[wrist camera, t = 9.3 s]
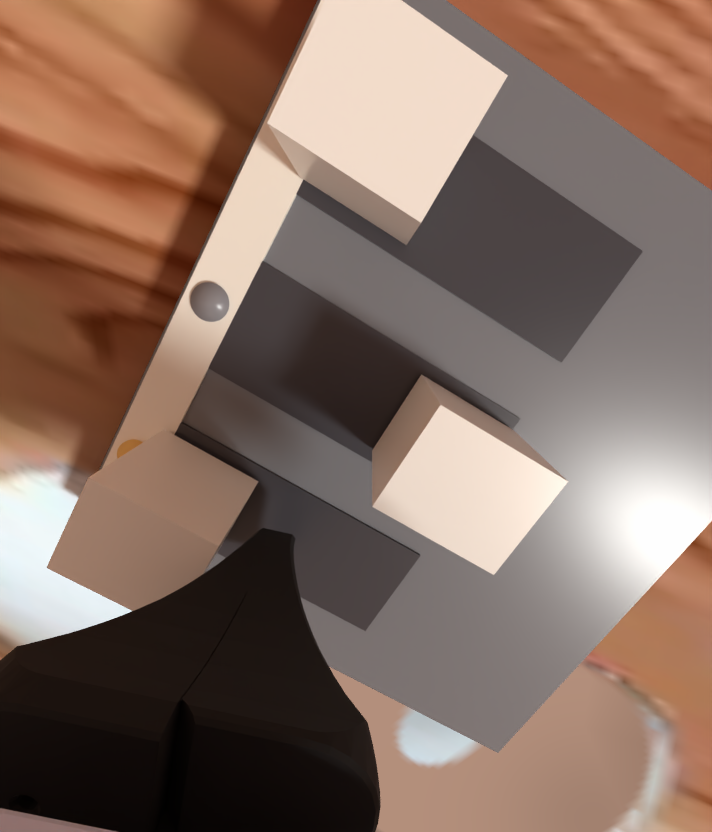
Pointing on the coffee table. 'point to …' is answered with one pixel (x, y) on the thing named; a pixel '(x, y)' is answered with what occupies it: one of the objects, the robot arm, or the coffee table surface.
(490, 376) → the switch bank
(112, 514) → the tab
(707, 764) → the coffee table surface
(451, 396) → the tab
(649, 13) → the coffee table surface
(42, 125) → the coffee table surface
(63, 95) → the coffee table surface
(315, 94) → the tab
